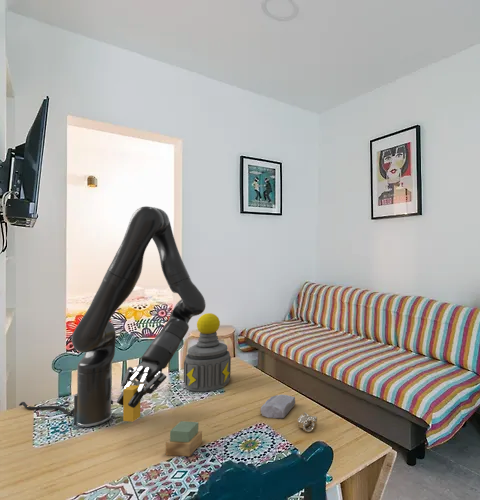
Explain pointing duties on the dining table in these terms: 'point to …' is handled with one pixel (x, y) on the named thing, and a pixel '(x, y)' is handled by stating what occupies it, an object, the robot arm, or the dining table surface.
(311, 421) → the ornament
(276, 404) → the stone block
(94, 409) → the robot arm
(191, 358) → the decorative lamp
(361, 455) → the dining table surface
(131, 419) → the bar
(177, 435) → the block
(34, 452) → the dining table surface
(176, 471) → the dining table surface
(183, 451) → the tower base
